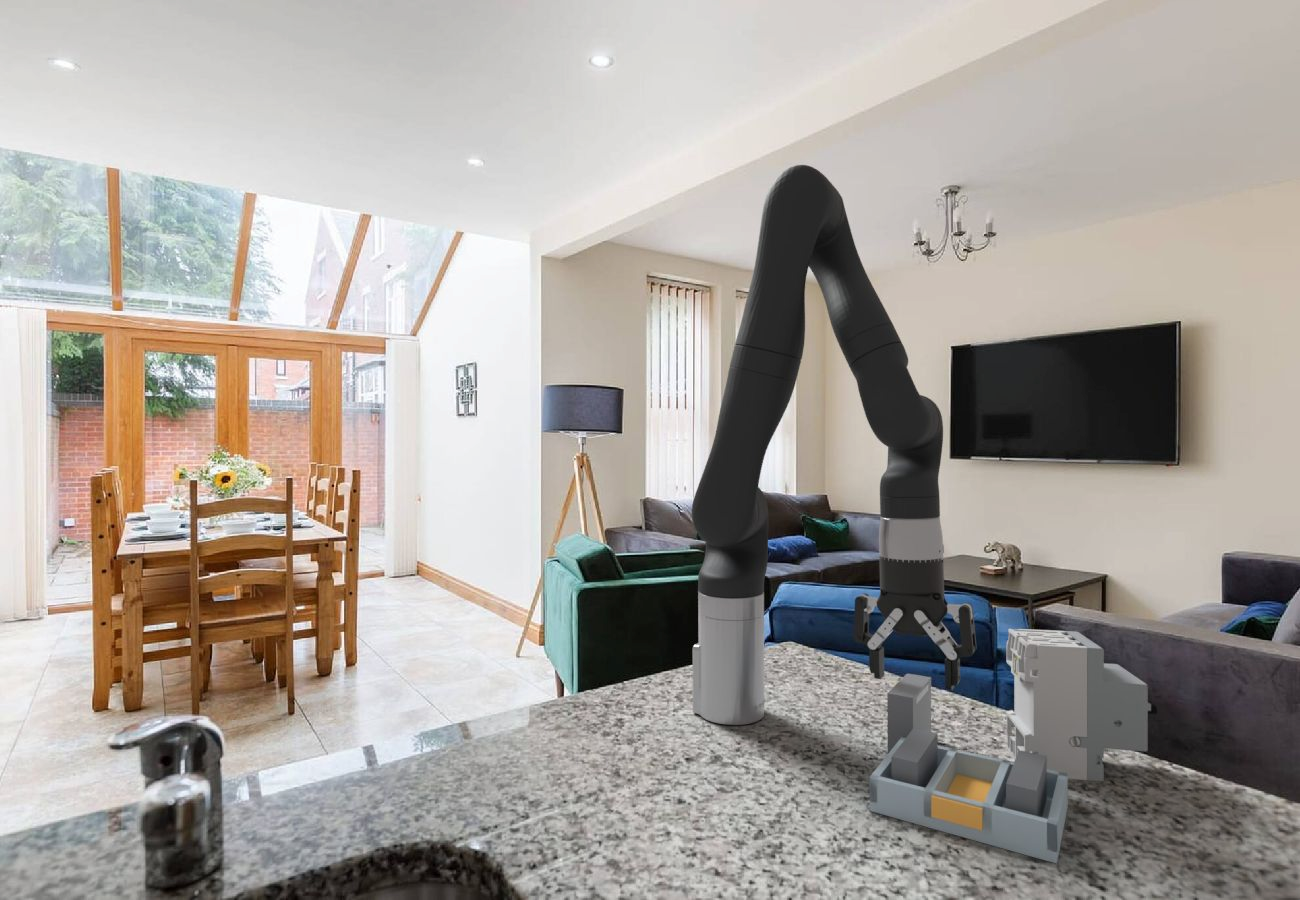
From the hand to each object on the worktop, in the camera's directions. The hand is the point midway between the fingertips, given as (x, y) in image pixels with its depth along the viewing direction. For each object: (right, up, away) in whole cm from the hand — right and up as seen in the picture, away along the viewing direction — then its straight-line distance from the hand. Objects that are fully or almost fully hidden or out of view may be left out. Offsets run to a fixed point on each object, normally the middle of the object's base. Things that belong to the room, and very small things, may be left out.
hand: (914, 682), depth 90 cm
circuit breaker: (+18, -8, -5) cm, 20 cm away
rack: (0, -8, -15) cm, 17 cm away
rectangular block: (0, -8, 0) cm, 8 cm away
